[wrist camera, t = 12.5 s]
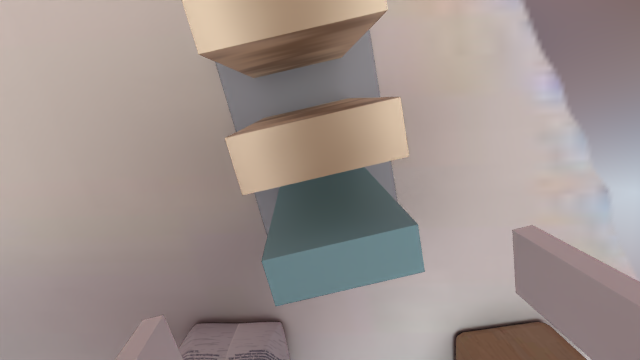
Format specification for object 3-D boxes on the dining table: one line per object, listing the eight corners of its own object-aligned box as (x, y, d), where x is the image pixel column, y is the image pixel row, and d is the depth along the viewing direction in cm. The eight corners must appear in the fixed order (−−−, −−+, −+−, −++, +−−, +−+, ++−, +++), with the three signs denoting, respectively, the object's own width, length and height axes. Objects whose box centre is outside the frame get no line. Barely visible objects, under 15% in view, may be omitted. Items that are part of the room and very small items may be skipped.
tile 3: (253, 78, 23) (198, 54, 11) (244, 45, 23) (175, -21, 10) (341, 57, 23) (387, 10, 11) (334, 24, 23) (376, -68, 10)
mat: (278, 268, 28) (277, 271, 28) (153, -152, 20) (149, -157, 19) (402, 239, 28) (403, 241, 28) (331, -194, 20) (331, -200, 19)
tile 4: (272, 146, 25) (242, 195, 12) (264, 117, 24) (224, 138, 12) (354, 127, 25) (408, 156, 12) (349, 98, 24) (400, 97, 12)
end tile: (287, 207, 26) (275, 306, 14) (280, 181, 26) (261, 261, 13) (365, 189, 26) (424, 271, 14) (360, 163, 26) (417, 224, 13)
